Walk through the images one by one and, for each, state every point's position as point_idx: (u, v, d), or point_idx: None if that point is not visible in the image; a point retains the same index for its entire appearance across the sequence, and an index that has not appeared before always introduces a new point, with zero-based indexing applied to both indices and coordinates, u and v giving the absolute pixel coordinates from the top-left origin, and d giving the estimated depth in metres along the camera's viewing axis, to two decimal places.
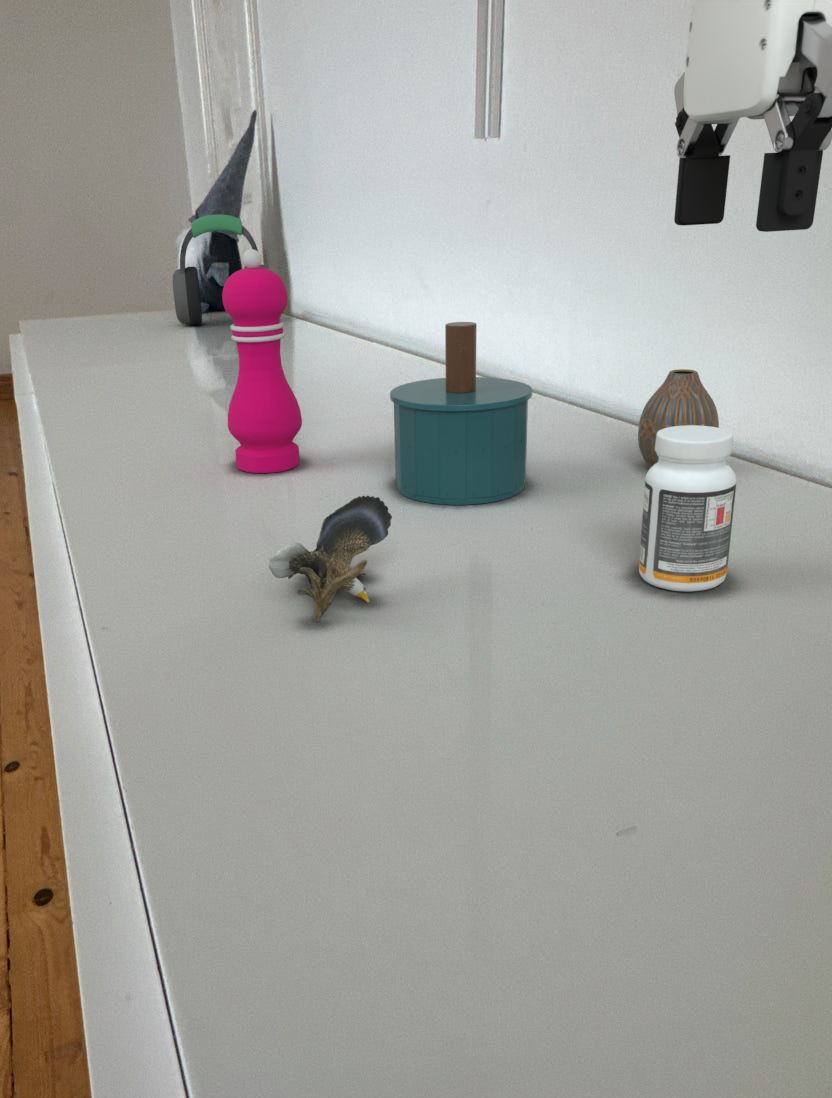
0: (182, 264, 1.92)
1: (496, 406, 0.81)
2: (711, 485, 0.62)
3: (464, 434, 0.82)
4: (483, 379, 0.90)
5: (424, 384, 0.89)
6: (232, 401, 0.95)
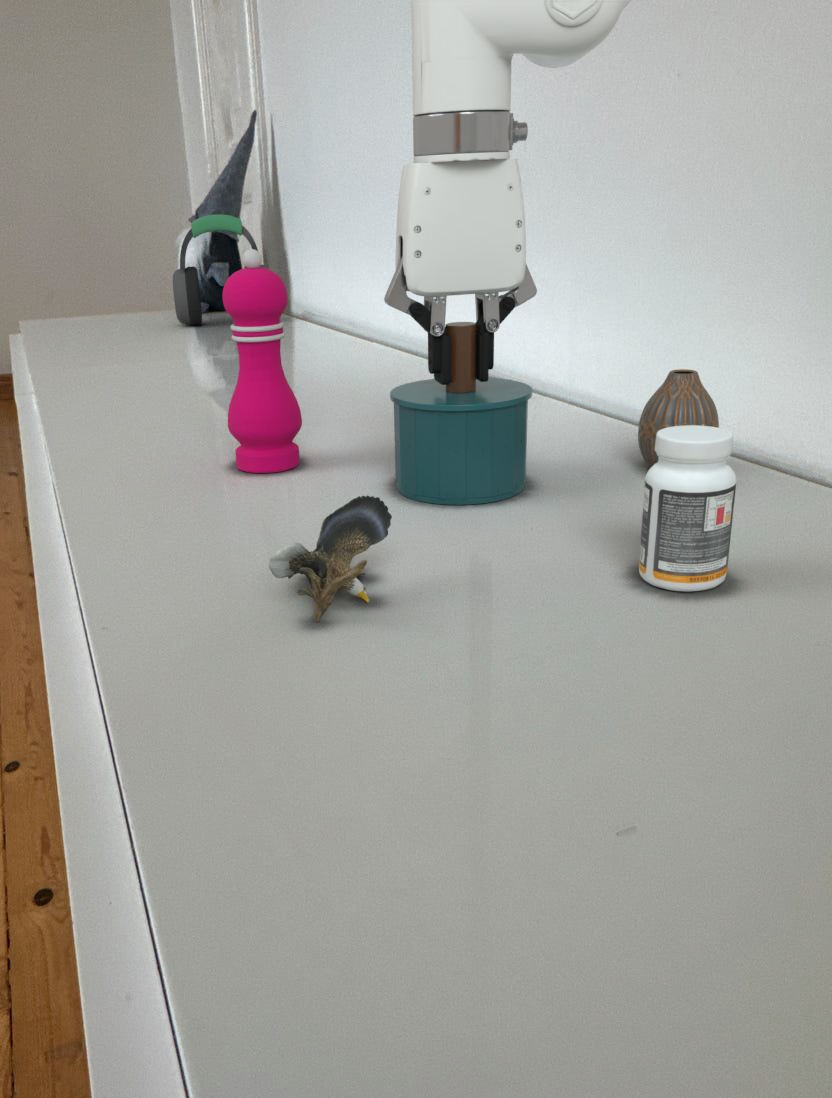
0: (182, 264, 1.92)
1: (496, 406, 0.81)
2: (711, 485, 0.62)
3: (464, 434, 0.82)
4: None
5: (424, 384, 0.89)
6: (232, 401, 0.95)
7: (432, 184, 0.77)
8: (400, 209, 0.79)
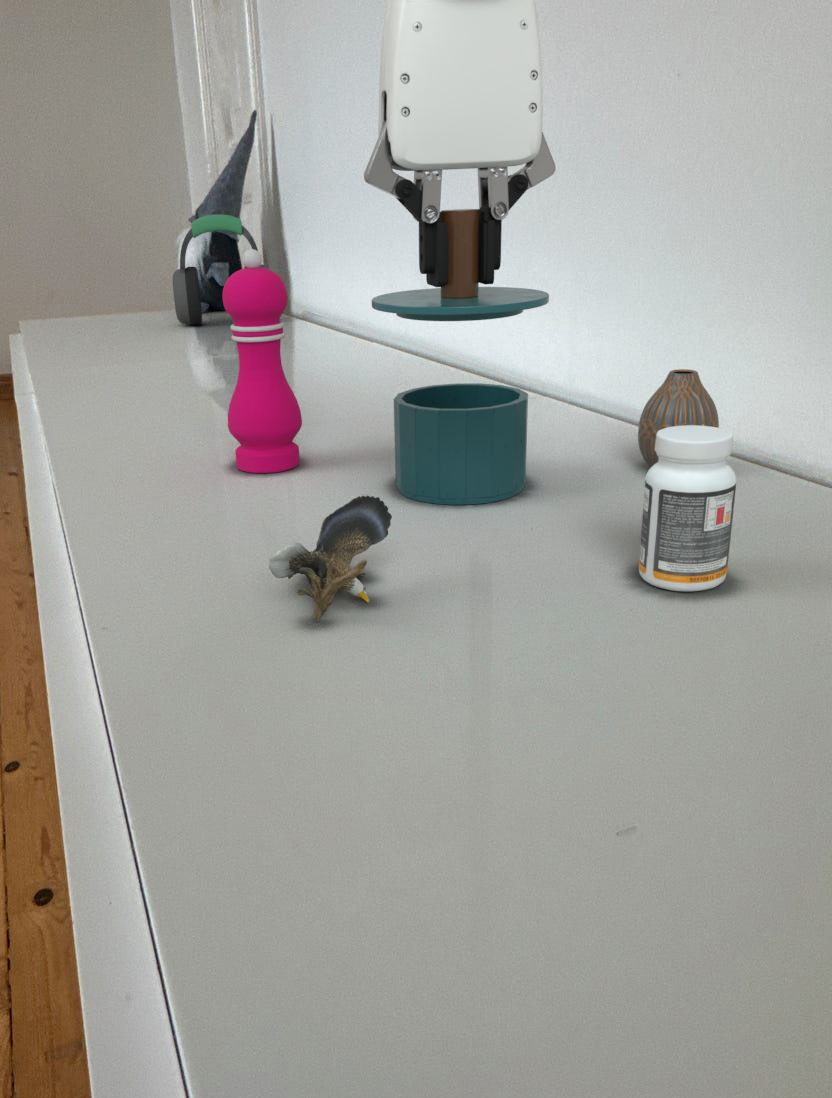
0: (182, 264, 1.92)
1: (504, 309, 0.64)
2: (711, 485, 0.62)
3: (464, 434, 0.82)
4: (487, 288, 0.73)
5: (414, 292, 0.72)
6: (232, 401, 0.95)
7: (423, 18, 0.60)
8: (383, 56, 0.63)
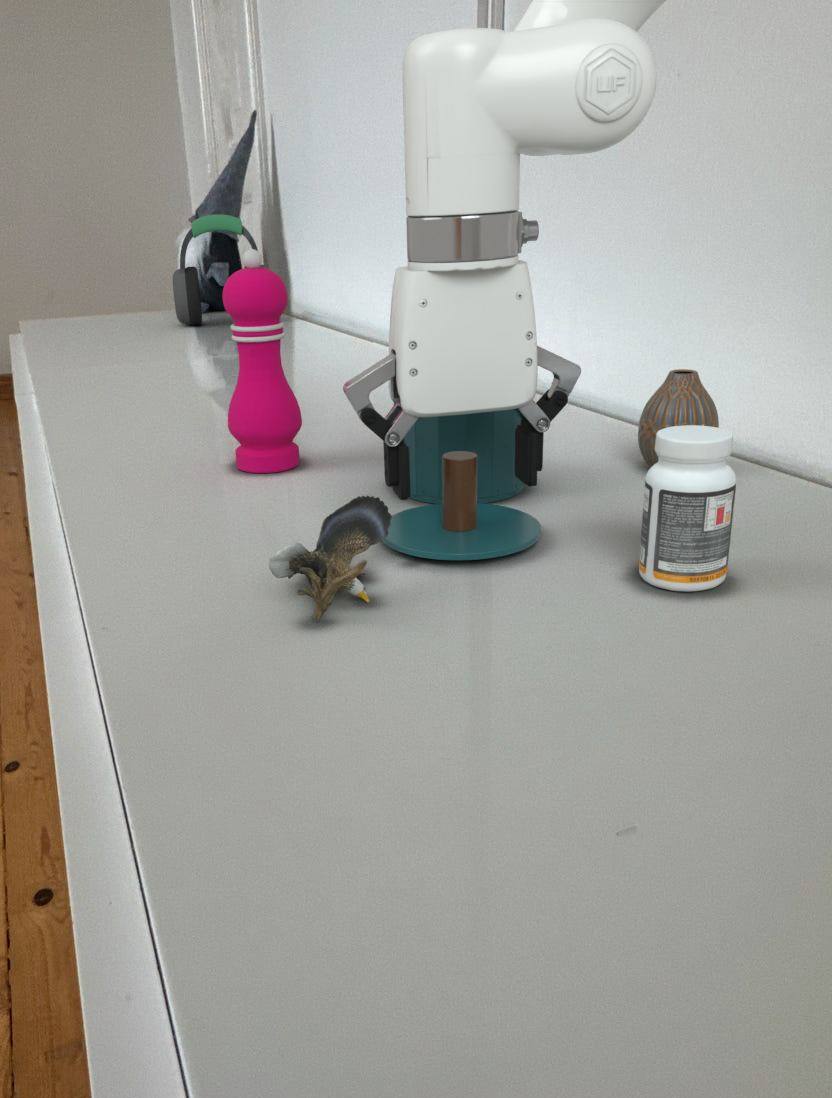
0: (182, 264, 1.92)
1: (500, 554, 0.71)
2: (710, 485, 0.62)
3: (464, 434, 0.82)
4: (485, 507, 0.80)
5: (418, 514, 0.79)
6: (232, 401, 0.95)
7: (429, 295, 0.66)
8: (393, 320, 0.69)
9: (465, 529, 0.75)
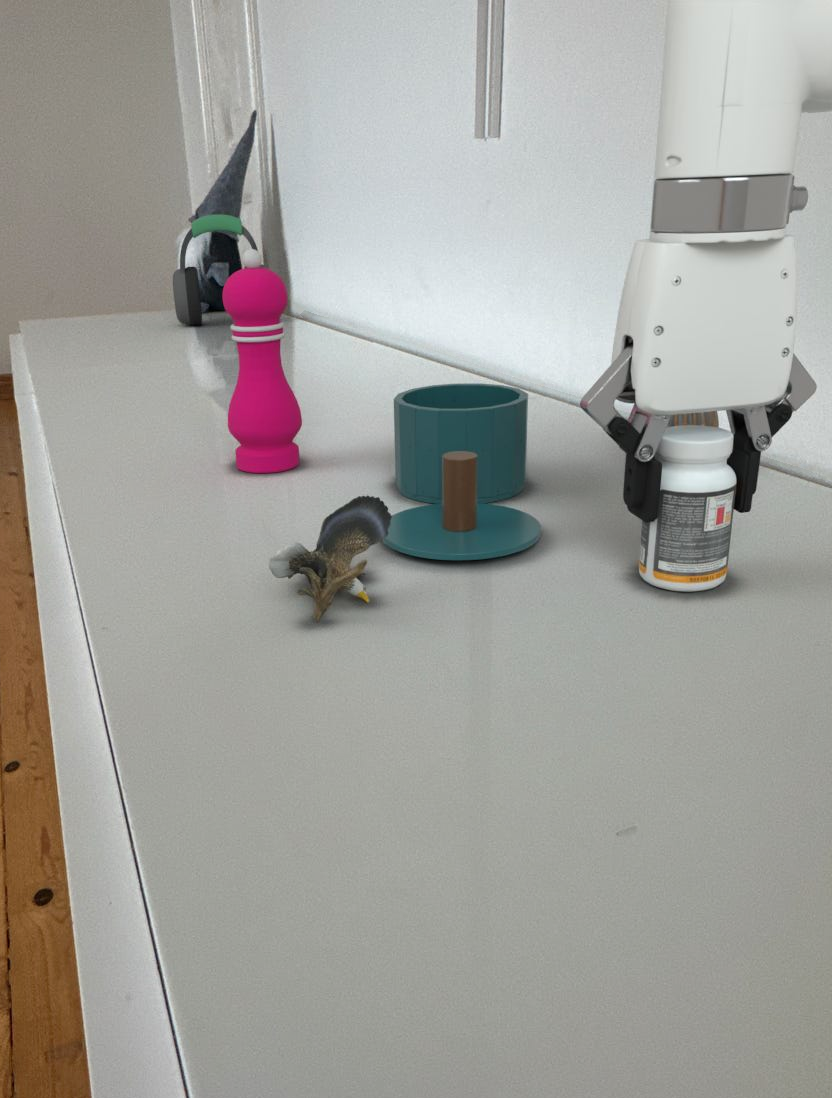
0: (182, 264, 1.92)
1: (500, 554, 0.71)
2: (711, 485, 0.62)
3: (464, 434, 0.82)
4: (485, 507, 0.80)
5: (418, 514, 0.79)
6: (232, 401, 0.95)
7: (684, 272, 0.57)
8: (630, 301, 0.59)
9: (465, 529, 0.75)
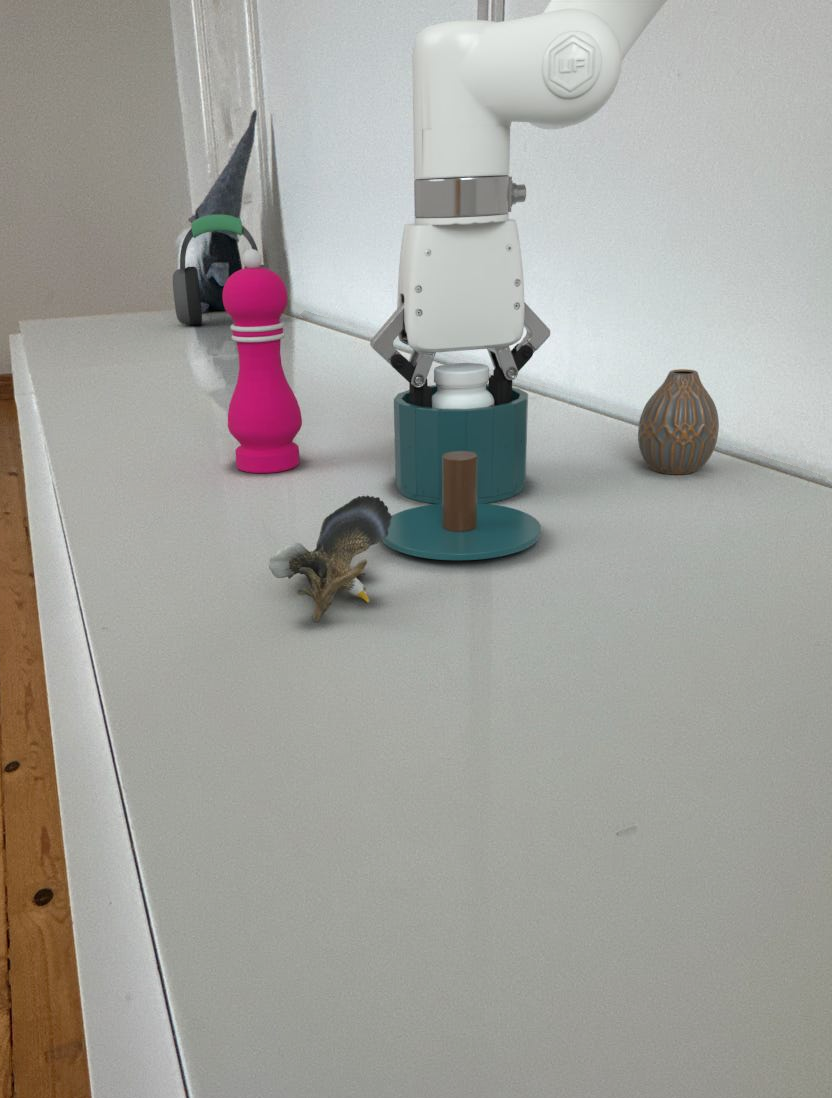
0: (182, 264, 1.92)
1: (500, 554, 0.71)
2: (469, 404, 0.84)
3: (464, 434, 0.82)
4: (485, 507, 0.80)
5: (418, 514, 0.79)
6: (232, 401, 0.95)
7: (433, 246, 0.79)
8: (401, 268, 0.81)
9: (465, 529, 0.75)
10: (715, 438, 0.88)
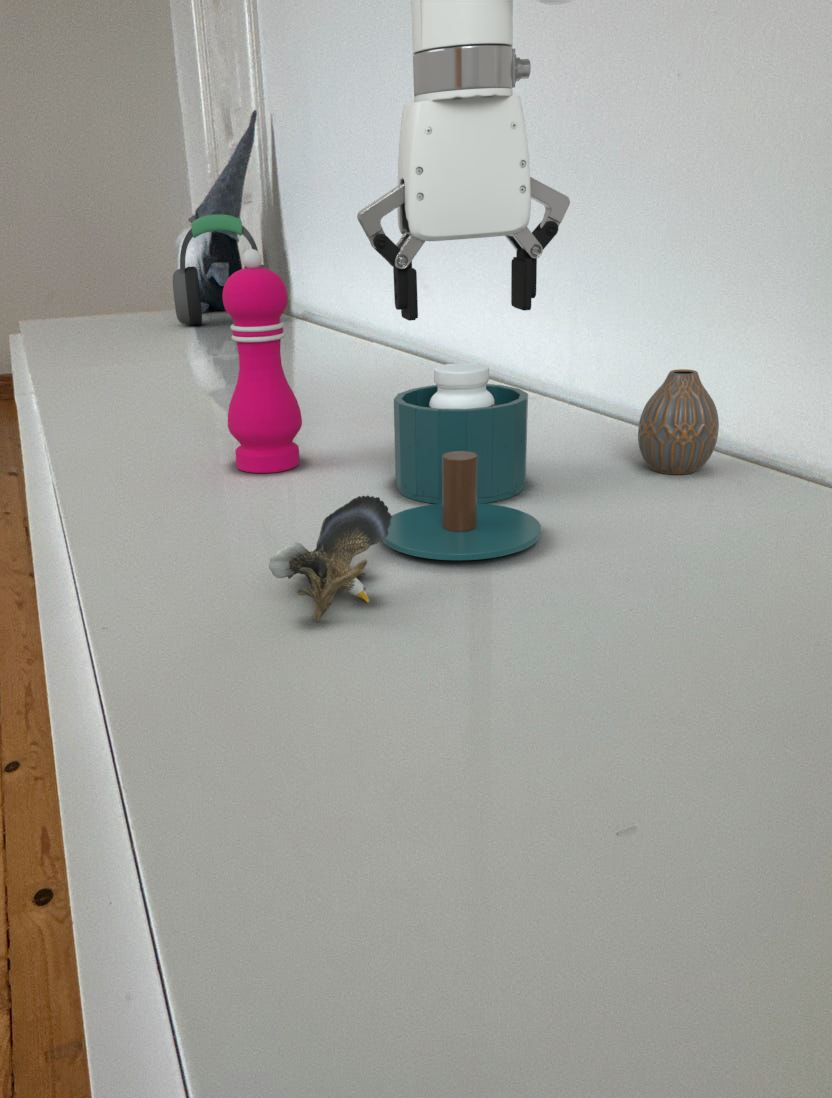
0: (182, 264, 1.92)
1: (500, 554, 0.71)
2: (469, 404, 0.84)
3: (464, 434, 0.82)
4: (485, 507, 0.80)
5: (418, 514, 0.79)
6: (232, 401, 0.95)
7: (433, 123, 0.75)
8: (401, 151, 0.78)
9: (465, 529, 0.75)
10: (715, 438, 0.88)
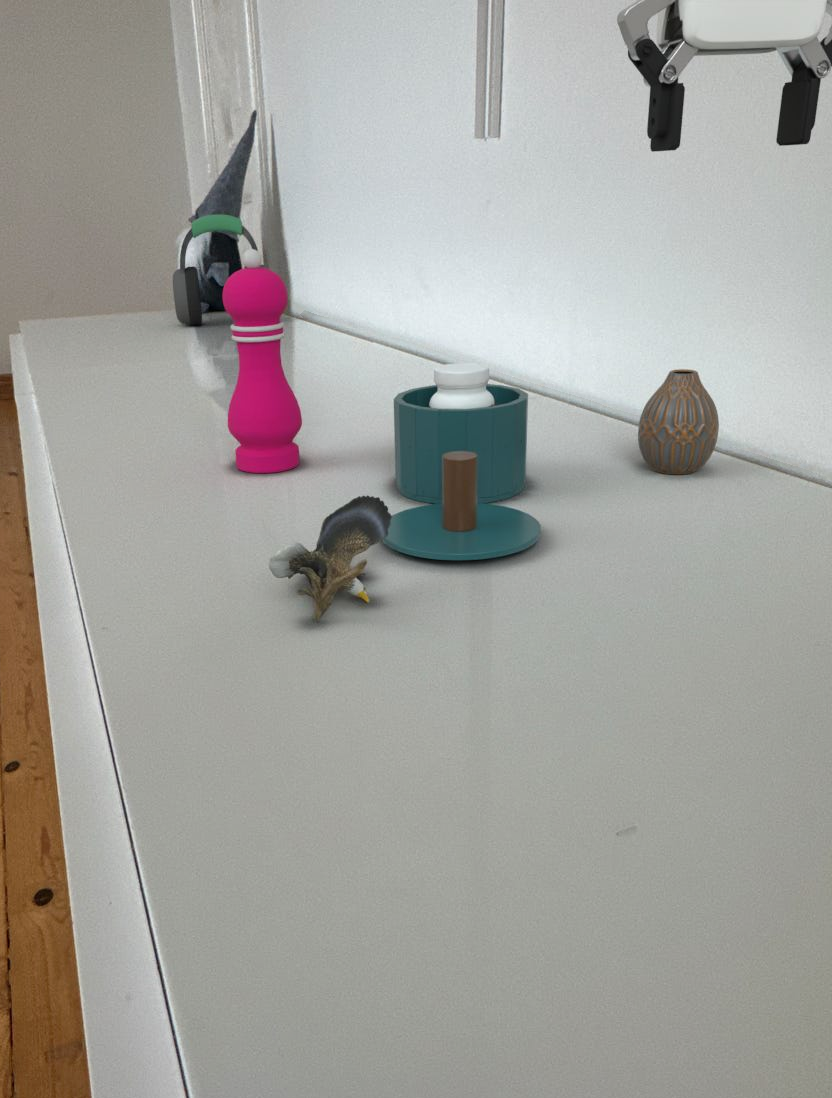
0: (182, 264, 1.92)
1: (500, 554, 0.71)
2: (469, 404, 0.84)
3: (464, 434, 0.82)
4: (485, 507, 0.80)
5: (418, 514, 0.79)
6: (232, 401, 0.95)
7: None
8: None
9: (465, 529, 0.75)
10: (715, 438, 0.88)
